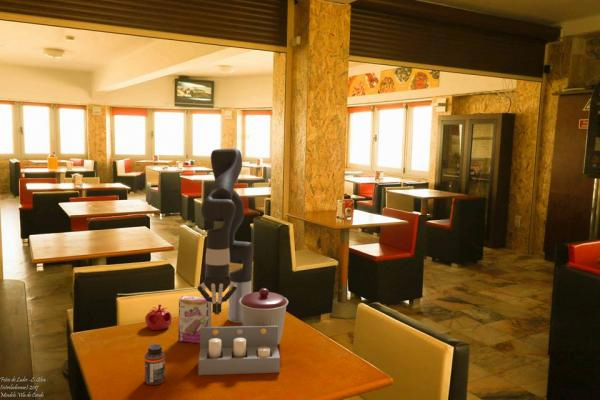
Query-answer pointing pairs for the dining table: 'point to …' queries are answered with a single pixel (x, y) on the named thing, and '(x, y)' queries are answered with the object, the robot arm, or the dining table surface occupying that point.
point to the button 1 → (214, 348)
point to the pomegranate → (158, 319)
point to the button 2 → (263, 352)
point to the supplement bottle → (154, 365)
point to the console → (227, 360)
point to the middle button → (239, 347)
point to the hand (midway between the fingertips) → (216, 313)
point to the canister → (264, 310)
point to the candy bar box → (193, 318)
